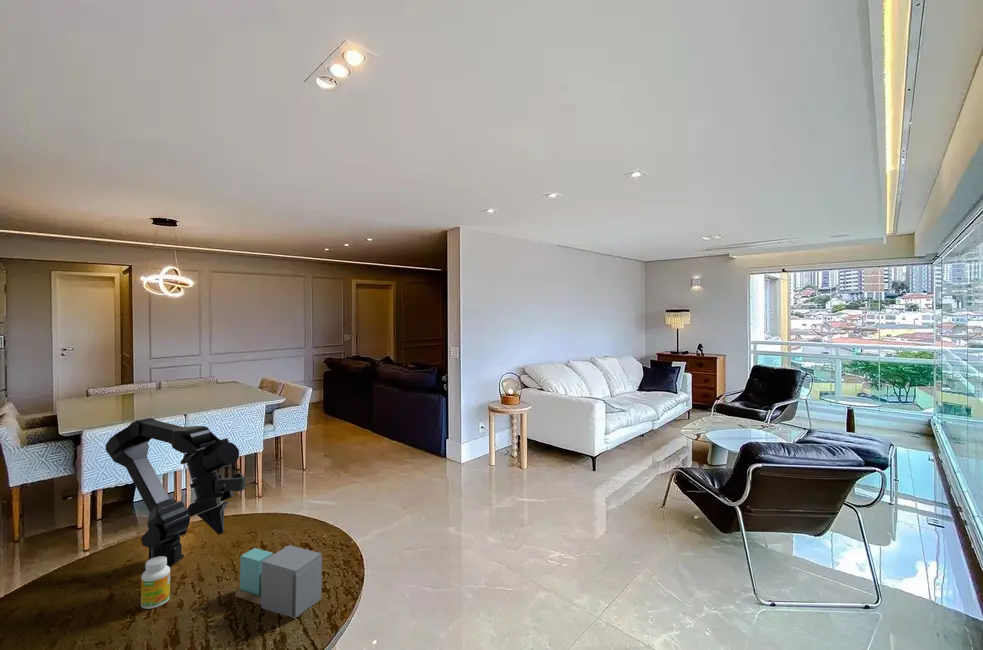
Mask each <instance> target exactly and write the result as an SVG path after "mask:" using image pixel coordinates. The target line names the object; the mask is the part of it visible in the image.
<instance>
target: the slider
mask: <svg viewBox="0 0 983 650" xmlns="http://www.w3.org/2000/svg"><path fill="white" fill-rule="evenodd" d="M273 554H274V552H271V551H268V550H263V549H260V548H256V547H254V548H252V549H251V550H248V551H247V552H244V553H243V554H241V555H240V561H239V562H240V565H239V567H240V571H239V572H240V574H239V580H240V581H239V590H241V591H244V592H247V593H251V594H254V595H257V596H260V597H261V586H262V561H263V560H265V559H267V558H268V557H270V556H272V555H273Z"/></svg>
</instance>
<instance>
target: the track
mask: <svg viewBox="0 0 983 650" xmlns="http://www.w3.org/2000/svg"><path fill="white" fill-rule="evenodd" d="M235 597H236V598H239V599H242V600H244V601H248V602H251V603H254V604H257V605H260V606H261V597H260V596H257V595H254V594H251V593H247V592H244V591H241V590H240V589H238V590H236V591H235Z"/></svg>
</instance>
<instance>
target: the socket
mask: <svg viewBox="0 0 983 650" xmlns="http://www.w3.org/2000/svg"><path fill="white" fill-rule="evenodd" d="M322 578H323V557H322V553H321V552H317V551H313V550H310V549H306V548H304V547H303V548H302V547H298V546H295V545H290V544H288V545H287V546H285V547H284V548H282V549H280V550H278V551H277V552H275V553H273V555H272V556H270V557H268V558H267V559H265V560H263V561H262V586H261V605H260V608H261V609H264V610H267V611H269V612H272V613H275V612H276V613H275V614H278V613H280V614H279V615H281V614H283V615H282V616H284V615H287V616H291V617H294V618H296V617H298V616H299V615H300V614H302V613H303V612H304V611H305V610H306V611H308V610H309V609H310V608H311V607H313V606H314V605H315V604H317V602H319V601H320V600H321V599H322V584H323V583H322V582H323V579H322ZM312 605H313V606H312ZM309 607H310V608H309ZM308 608H309V609H308ZM307 609H308V610H307ZM306 611H305V612H306ZM305 612H304V613H305ZM304 613H303V614H304ZM303 614H302V615H303ZM287 616H286V617H287ZM300 616H301V615H300ZM300 616H299V617H300ZM299 617H298V618H299Z"/></svg>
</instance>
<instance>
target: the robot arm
mask: <svg viewBox="0 0 983 650" xmlns="http://www.w3.org/2000/svg"><path fill="white" fill-rule="evenodd" d="M152 439H153V440H157V441H160V442H164V443H167V444H170V445H171V448H172V449H174V450H175V451H177V452H179V453H181V454H184V456H183V458H182V459H181V460H180V465H185V464H186V465H187V469H188V472H189V477H190V479H191V483H190V484H189V486H190V489H192V488H193V490H194V493H195V496H196V499H194V502H192V503H191V504H189V505H188V507H187V508H186V506H185V503H184V502H183V501H182V500H179V501H174V500H171V499H170V497H169V495H168V493H167V491H166V489H165V487H164V486H163V484H162V482H161V480H160V478H159V477H158V475H157V473H156V471H155V469H154V467H153V465H152V464H151V462H150V460H149V458H148V453H149V448H150V445H149V442H150V441H151V440H152ZM105 452H106V453H107V455H108V456H109V457H110V458H111V459H112V460H113V462H114V463H117V464H118V465H120V466H122V467H125V469H126V470H127V472H128V475H129V476H130V478H131V480H132V481H133V484H134V486H135V487H136V490H137V491H138V493H139V495H140V497H141V499H142V501H143V502H144V504H145V506H146V508H147V510H148V512H149V513H148V514H149V515H148V519H147V523H146V525H147V528H148V529H147V531H146V532H145V533H144V534H143V535H142V536H141V538H140V540H141V541H140V542H141V545H142V546H143V547H146V548H148V560H150V559H152V558H155V557H159V556H164V557H166V558H167V566H169V567H170V568H171V567H172V566H174V565H175V564H176V563H177V562H179V561H181V560H182V559H183V558H184V557H185V555H184V554H182V547H183V546H182V542H181V537H182V536H184V535H186V534H187V533H188V528H189V525H190V523H191V517H194V516H197V517H199V518H200V519H201V520H202V521H204V522H205V524H207V525H208V526H209V527H210V528H211V529H212V530H213V531H214V532H215V533H216V534H217V535H218V536H219V535H220V536H221V535H223V533H224V532H225V510H226V507H227V506H228V504H229V503H230V500H228V499H232V498H234V497H235V494H234V492H243V490H245V489H246V483H247V482H248V481H247V477H246V476H244V475H243V473H242V472H236V473H234V474H233V475H232V477H223V474H222V473H219V472H218V470H220V469H222V468H226V467H227V466H230V465H234V464H235V463H236V462H237V461H238V459H239V457H240V450H239V448H238V447H237V446H236V445H235V443H233V442H230V441H229V439H228V437H227V438H226V437H225V438H222V439H221V438H218V436H216V435H215V434H214V432H212V431H210V427H209V428H208V427H207V426H204V425H191V426H181V425H177V424H172V423H169V422H164V421H161V420H157V419H155V418H152V417H151V418H150V417H147V418H143V419H139V420H135V421H133V422H131V423H130V424H129V425H128V426H127V427H125V428H123V429H122V430H120V431H118V432H117V433H115V434H114V435H113V436H111V437H109V439H108V441H107V442H106V443H105ZM225 500H227V501H225ZM224 501H225V502H224ZM143 569H144V570H146V569H145V565H144V566H143Z"/></svg>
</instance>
